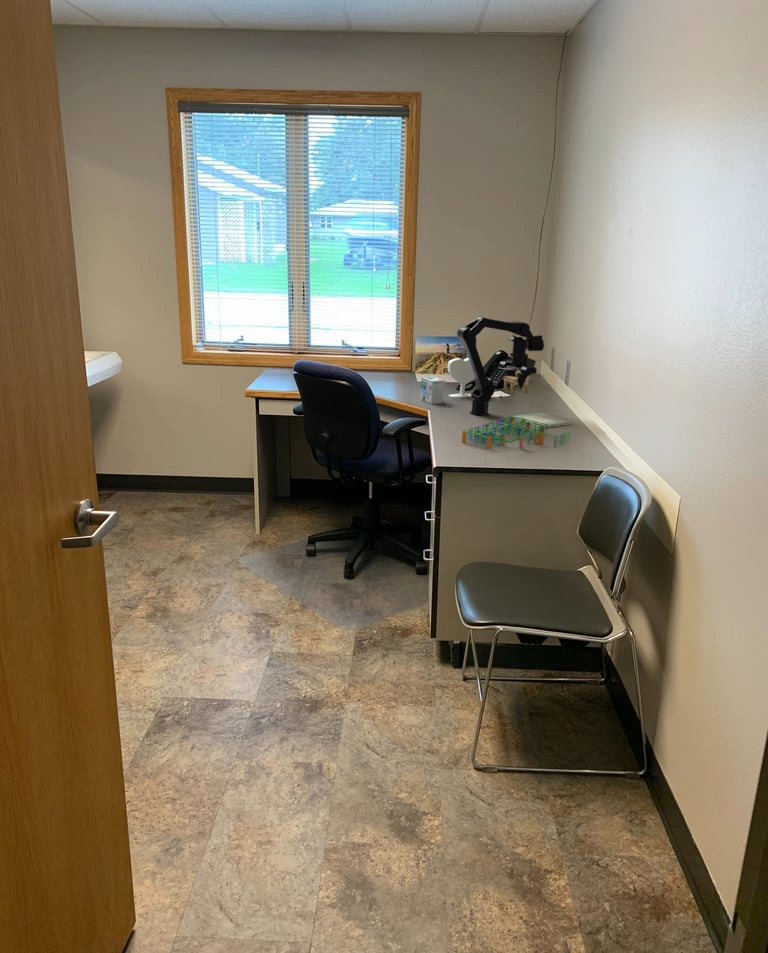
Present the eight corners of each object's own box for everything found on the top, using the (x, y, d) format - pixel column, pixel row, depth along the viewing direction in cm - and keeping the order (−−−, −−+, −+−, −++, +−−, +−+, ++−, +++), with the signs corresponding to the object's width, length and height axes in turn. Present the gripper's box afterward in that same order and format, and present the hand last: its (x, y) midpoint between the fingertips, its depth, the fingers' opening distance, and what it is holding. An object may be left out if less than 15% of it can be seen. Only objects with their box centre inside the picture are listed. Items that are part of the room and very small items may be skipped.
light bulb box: (419, 399, 352) (420, 376, 349) (432, 398, 355) (433, 375, 352) (431, 404, 343) (432, 380, 340) (443, 403, 346) (445, 380, 343)
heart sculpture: (475, 394, 368) (477, 357, 362) (478, 396, 363) (481, 359, 358) (445, 394, 364) (447, 357, 359) (448, 397, 360) (450, 359, 354)
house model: (507, 426, 308) (508, 415, 307) (573, 440, 291) (575, 428, 289) (459, 442, 283) (460, 430, 281) (529, 459, 265) (530, 446, 263)
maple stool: (511, 394, 324) (512, 378, 322) (502, 392, 329) (503, 376, 327) (528, 393, 329) (530, 377, 327) (520, 390, 334) (521, 375, 332)
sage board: (537, 428, 305) (537, 426, 305) (509, 419, 320) (509, 416, 319) (570, 424, 314) (570, 421, 313) (541, 415, 328) (541, 412, 328)
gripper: (547, 353, 320) (544, 389, 325) (519, 347, 335) (516, 381, 340) (527, 355, 314) (524, 391, 319) (499, 348, 330) (497, 383, 334)
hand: (516, 387), depth 328 cm, fingers closed on maple stool, 6 cm apart
